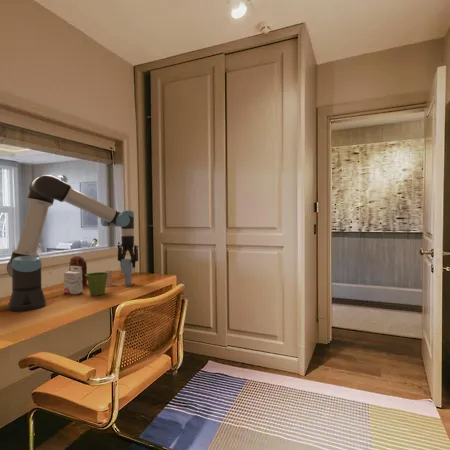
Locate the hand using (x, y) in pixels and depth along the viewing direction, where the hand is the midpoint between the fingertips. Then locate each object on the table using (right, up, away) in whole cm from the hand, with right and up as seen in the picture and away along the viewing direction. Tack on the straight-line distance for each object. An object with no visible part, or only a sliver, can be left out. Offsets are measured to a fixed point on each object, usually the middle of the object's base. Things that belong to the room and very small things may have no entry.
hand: (128, 272), depth 192 cm
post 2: (0, -8, 0) cm, 8 cm away
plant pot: (-10, -9, -23) cm, 26 cm away
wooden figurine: (-31, -8, 0) cm, 32 cm away
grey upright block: (0, 0, 0) cm, 0 cm away
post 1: (-12, -8, -1) cm, 14 cm away
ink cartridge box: (-24, -9, -20) cm, 33 cm away
